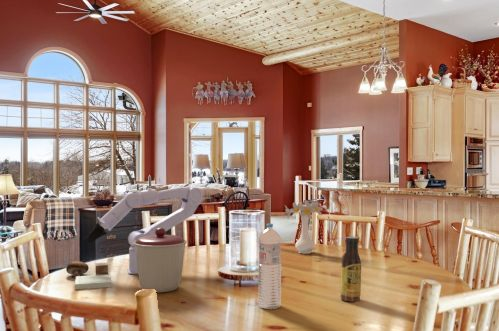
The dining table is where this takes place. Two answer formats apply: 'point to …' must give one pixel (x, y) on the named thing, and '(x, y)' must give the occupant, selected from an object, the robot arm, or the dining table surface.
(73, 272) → the mushroom
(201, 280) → the dining table surface
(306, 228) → the flower vase
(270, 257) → the water bottle
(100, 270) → the walnut block
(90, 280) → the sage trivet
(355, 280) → the sauce bottle
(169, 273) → the canister
